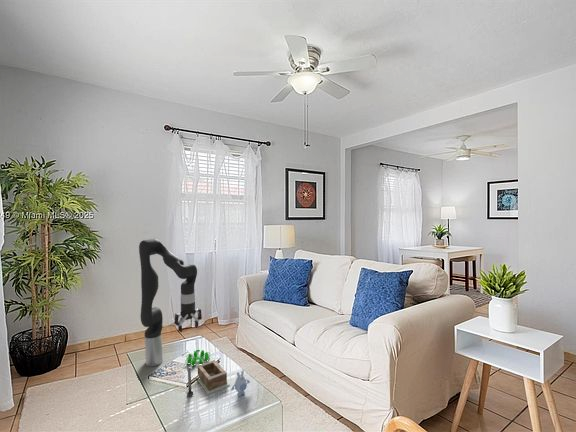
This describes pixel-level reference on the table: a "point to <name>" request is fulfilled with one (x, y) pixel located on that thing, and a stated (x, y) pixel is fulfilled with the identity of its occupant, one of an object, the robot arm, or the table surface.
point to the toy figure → (240, 384)
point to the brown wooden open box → (215, 380)
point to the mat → (213, 389)
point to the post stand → (189, 383)
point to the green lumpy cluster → (198, 357)
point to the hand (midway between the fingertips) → (188, 329)
